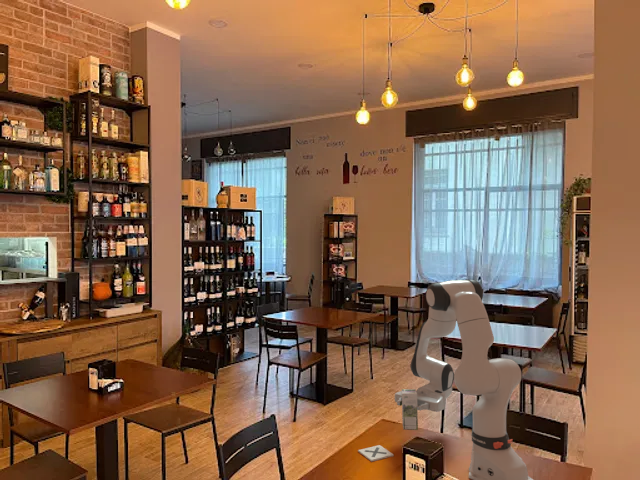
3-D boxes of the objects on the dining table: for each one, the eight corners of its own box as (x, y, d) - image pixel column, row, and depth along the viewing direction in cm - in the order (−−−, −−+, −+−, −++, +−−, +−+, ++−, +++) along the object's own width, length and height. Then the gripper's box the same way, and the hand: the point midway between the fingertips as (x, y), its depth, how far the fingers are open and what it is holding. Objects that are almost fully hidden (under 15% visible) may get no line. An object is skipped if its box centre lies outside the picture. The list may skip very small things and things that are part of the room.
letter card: (393, 455, 186) (393, 454, 186) (371, 461, 182) (371, 459, 182) (379, 446, 195) (379, 444, 195) (358, 451, 191) (358, 449, 191)
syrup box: (416, 424, 196) (415, 388, 196) (418, 430, 190) (417, 393, 190) (402, 424, 196) (401, 388, 196) (403, 430, 191) (402, 393, 191)
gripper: (404, 384, 210) (386, 392, 200) (448, 393, 196) (430, 402, 186) (405, 399, 210) (386, 408, 200) (449, 409, 196) (431, 419, 186)
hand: (408, 405), depth 193 cm, fingers closed on syrup box, 8 cm apart
